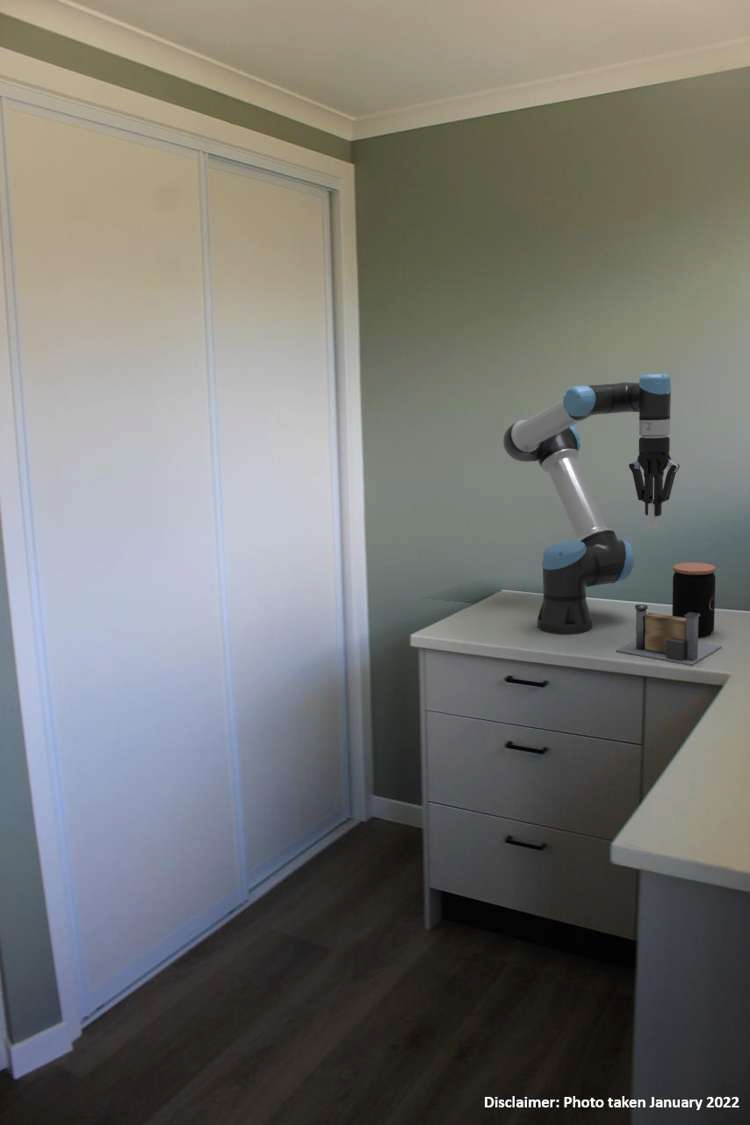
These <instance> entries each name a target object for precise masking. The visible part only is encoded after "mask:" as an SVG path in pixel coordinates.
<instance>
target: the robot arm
mask: <svg viewBox="0 0 750 1125" xmlns="http://www.w3.org/2000/svg"><path fill="white" fill-rule="evenodd" d="M671 395H672V386H671V377H670V375H668V373H667V374H666V373H663V374H662V373H659V374H658V373H656V374H655V373H654V374H653V373H652V374H651V373H650V374H642V375H641V376H639V382H628V381H627V382H625V381H624V382H617V383H605V384H603V383H602V384H589V385H587V384H586V385H585V384H584V385H583V384H582V385H581V384H580V385H576V386H570V387H569V388H568V389H567V390H566V391H565V393H564V395H563V398H562V399H561V400H559V401H556V402H555V403H553V404H551V405H550V406H548V407H547V408H545V409H543V410H542V411H539V413H537V414H535V415H534V416H531V417H529V418H528V419H521V420H518V421H516V422H515V423H513V424H512V425H510V426H509V427H508V428H507V429H506V430H505V433H504V434H503V438H502V439H503V448H504V450H505V452H506V453H507V455H508V456H510V458H512V459H514V460H515V461H519V462H523V463H525V462H526V463H528V462H529V463H530V462H538V465H539V466H540V468H541V470H542V472H545V473H548V474H549V476H550V478H551V481H552V483H553V485H554V488H555V490H556V492H557V494H558V496H559V499H560V501H561V504H562V505H563V508H564V510H565V513H566V514H567V517H568V520H569V522H570V525H571V526H572V528H573V532H574V533H575V535H576V537H577V540H569V541H560V542H555V543H553V544H550V545H548V546H547V547H546V548H545V549H544V551H543V552H542V553H543V554H542V563H541V566H542V592H543V594H542V595H543V598H542V599H543V600H542V603H541V605H540V609H539V612H538V616H537V629H539V630H541V631H543V632H546V633H552V634H562V635H564V634H567V635H568V634H571V635H572V634H579V633H584V632H588V631H590V630H592V629H593V622H594V621H593V620H594V619H593V617H592V614H591V611H590V608H589V604H588V602H587V588H588V587H595V586H602V585H609V584H616V583H618V582H622V581H625V580H626V579H627V578H629V577H630V575H631V573H632V572H633V567H634V563H635V554H634V551H633V548H632V546H631V544H630V543H629V542H628V541H626V540H625V539H618V536H617V535H616V532H615V530H613V529H611V528H608V527H607V525H606V523H605V521H604V519H603V517H602V515H601V513H600V510H599V508H598V506H597V504H596V501H595V499H594V497H593V495H592V493H591V490H590V489H589V487H588V486H589V485H588V484H587V482H586V479H585V477H584V475H583V473H582V471H581V468H580V466H579V465H578V462H577V459H578V457H579V451H580V448H581V442H580V441H581V436H580V434H579V431H578V430H577V427H576V426H575V425H576V424H578V423H580V422H582V421H585V420H586V419H588V418H590V417H592V416H595V415H606V414H618V413H638V414H639V415H638V436H641V437H639V439H638V456H637V460H635V461H634V462H632V463H629V464H628V468H629V470H630V471H631V473H632V477H633V481H634V485H635V486H634V487H635V491H636V496H637V500H639V501H641V502H643V503H644V514H645V516H647V529H648V530H655V529H658V528H659V517H660V516H661V515H662V508H663V507H662V505H663V503H664V502H667V501H669V500H670V496H671V493H672V489H673V484H674V481H675V477H676V473H677V472H678V470H679V469H680V464H678V463H674V461H672V458H671V456H670V450H671V448H670V445H671V444H670V443H671V438H670V437H669V435H670V434H671V400H672V399H671V398H672V396H671ZM641 469H642V470H643V472H642V470H641ZM665 470H667V472H666V476H665V474H664V473H665ZM642 473H643V474H642ZM664 476H665V479H664ZM643 477H644V479H643ZM663 482H664V483H663Z"/></svg>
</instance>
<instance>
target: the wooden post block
mask: <svg viewBox="0 0 750 1125" xmlns="http://www.w3.org/2000/svg"><path fill="white" fill-rule="evenodd" d="M670 638H676V639H682V640H686V618H682V617H676V616H672V615H668V614H661V613H656V612H648V613H646V615H645V649H647V650H652V651H658V652H663V653H666V648H667V640H668V639H670Z"/></svg>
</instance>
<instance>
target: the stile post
mask: <svg viewBox="0 0 750 1125" xmlns="http://www.w3.org/2000/svg"><path fill="white" fill-rule="evenodd" d="M699 616H700V614H699V613H692V612H689V613H687V614H685V615H684V617H685V618H686V652H685V659H686V660H692V661H694V660H695V659H697V658H698V642H699V637H698V617H699Z"/></svg>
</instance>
